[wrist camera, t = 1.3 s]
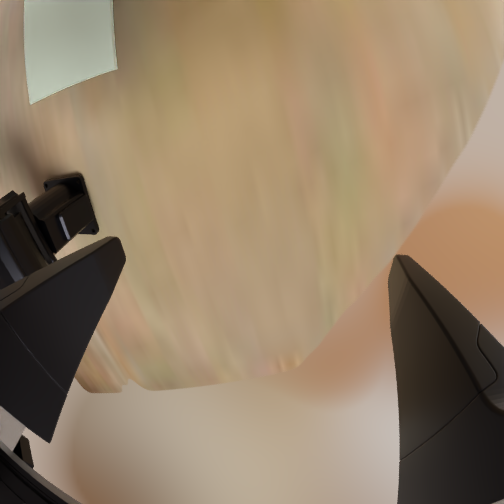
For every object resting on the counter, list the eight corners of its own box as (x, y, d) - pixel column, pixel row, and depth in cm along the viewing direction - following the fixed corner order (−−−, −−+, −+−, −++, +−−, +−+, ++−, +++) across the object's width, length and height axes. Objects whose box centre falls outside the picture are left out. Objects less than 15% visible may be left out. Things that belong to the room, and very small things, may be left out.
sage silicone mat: (32, 103, 20) (30, 104, 19) (30, -32, 10) (27, -33, 9) (117, 68, 17) (114, 69, 17) (116, -88, 7) (114, -89, 7)
